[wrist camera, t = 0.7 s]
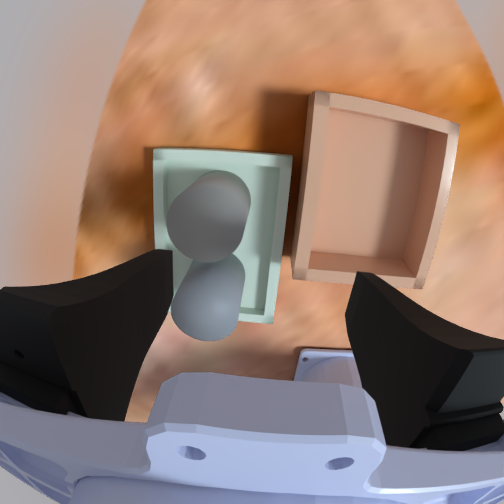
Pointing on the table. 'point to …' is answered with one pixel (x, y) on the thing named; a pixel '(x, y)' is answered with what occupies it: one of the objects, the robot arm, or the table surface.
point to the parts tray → (258, 222)
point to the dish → (370, 191)
